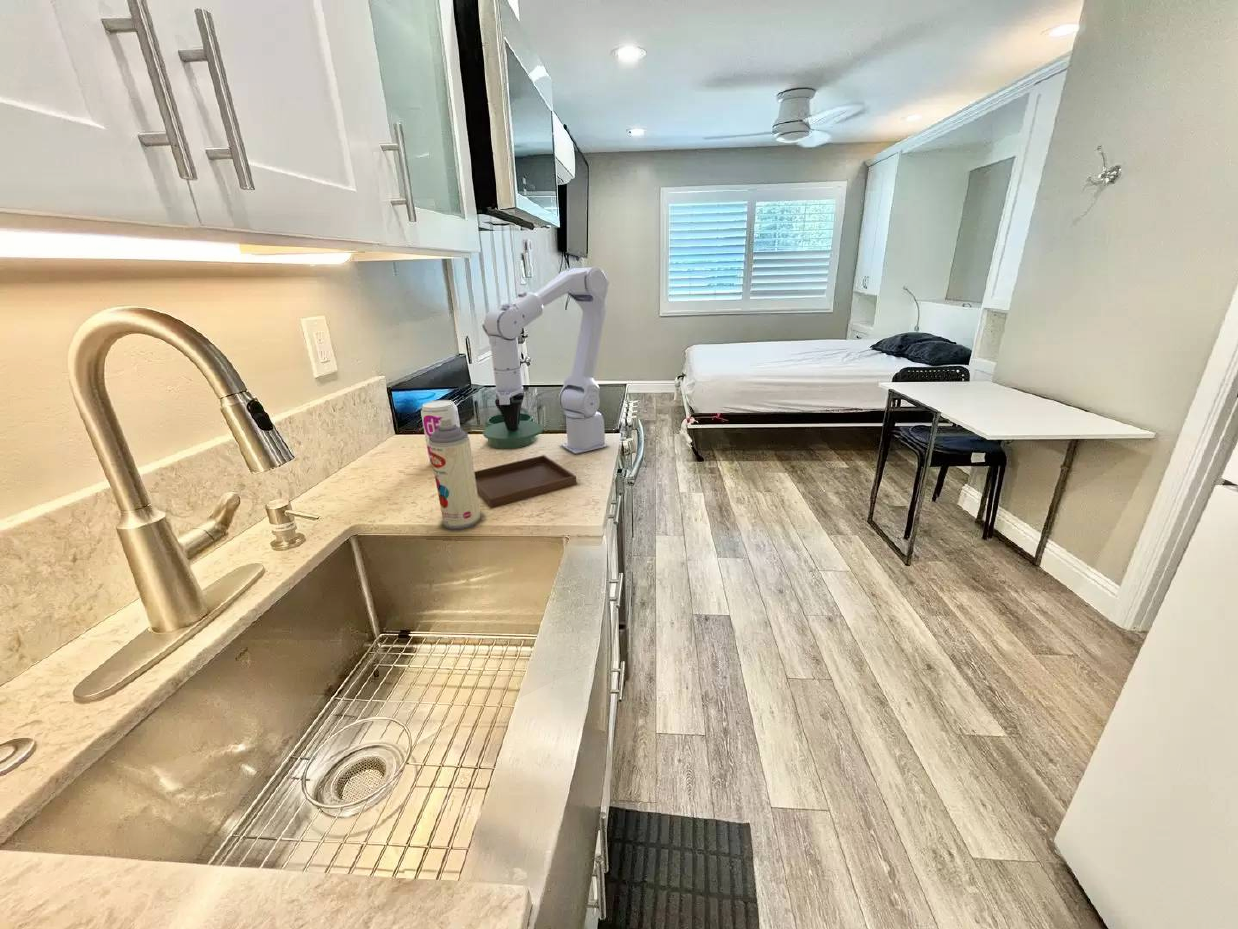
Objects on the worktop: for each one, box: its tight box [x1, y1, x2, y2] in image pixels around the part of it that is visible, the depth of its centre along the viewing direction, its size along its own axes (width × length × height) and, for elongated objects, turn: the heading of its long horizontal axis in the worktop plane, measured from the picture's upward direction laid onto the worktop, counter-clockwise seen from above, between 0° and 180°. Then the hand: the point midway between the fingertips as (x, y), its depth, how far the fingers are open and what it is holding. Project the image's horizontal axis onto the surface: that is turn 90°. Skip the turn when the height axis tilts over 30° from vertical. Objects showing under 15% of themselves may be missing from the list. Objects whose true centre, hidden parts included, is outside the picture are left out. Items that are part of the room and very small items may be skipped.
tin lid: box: [482, 421, 544, 441], centre depth 111 cm, size 13×13×4 cm
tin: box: [485, 411, 536, 450], centre depth 134 cm, size 12×12×6 cm
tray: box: [474, 454, 578, 508], centre depth 108 cm, size 19×16×2 cm
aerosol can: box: [429, 417, 482, 530], centre depth 89 cm, size 7×7×20 cm
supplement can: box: [420, 399, 461, 466], centre depth 118 cm, size 8×8×15 cm
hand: (513, 427), depth 111 cm, fingers closed on tin lid, 2 cm apart
